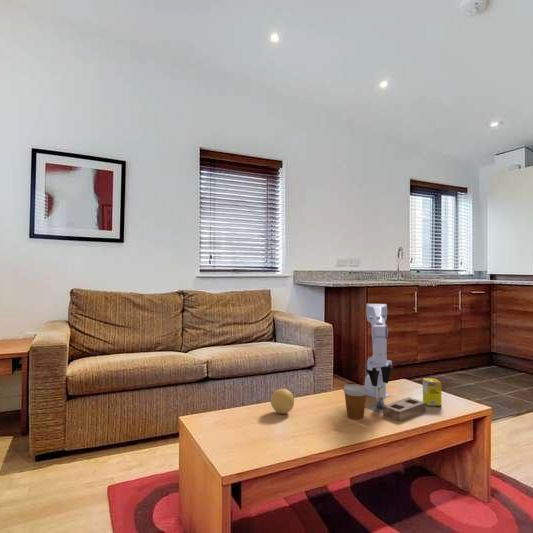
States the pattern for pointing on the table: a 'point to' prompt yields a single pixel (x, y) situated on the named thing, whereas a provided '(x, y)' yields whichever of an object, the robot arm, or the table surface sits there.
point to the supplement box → (432, 392)
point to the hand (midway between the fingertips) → (380, 384)
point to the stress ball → (282, 401)
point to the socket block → (404, 409)
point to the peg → (380, 397)
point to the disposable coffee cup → (355, 400)
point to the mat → (375, 408)
